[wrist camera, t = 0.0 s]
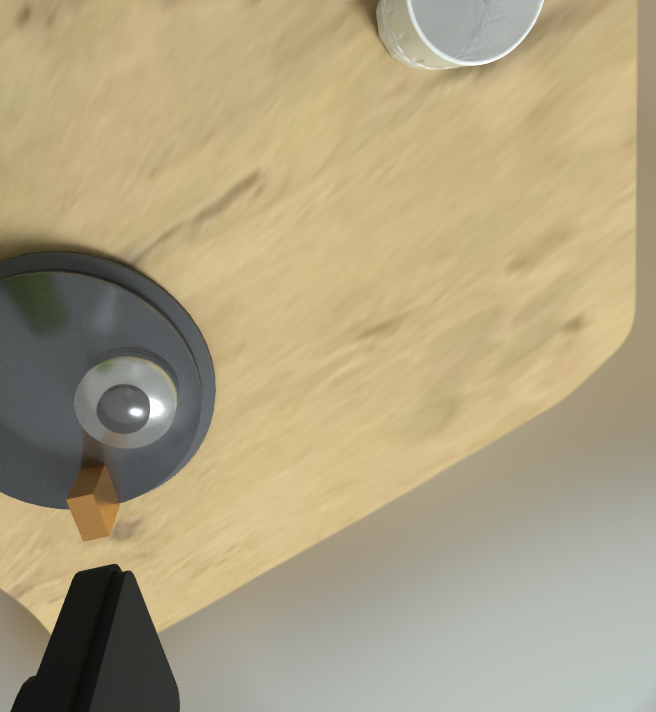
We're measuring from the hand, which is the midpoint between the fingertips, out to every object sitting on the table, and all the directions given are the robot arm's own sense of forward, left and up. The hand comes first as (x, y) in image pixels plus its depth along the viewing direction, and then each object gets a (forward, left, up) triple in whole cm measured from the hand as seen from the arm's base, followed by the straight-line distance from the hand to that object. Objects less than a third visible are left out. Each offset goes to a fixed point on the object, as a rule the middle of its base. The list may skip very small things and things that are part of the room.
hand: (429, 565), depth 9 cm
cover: (+10, -14, -34) cm, 38 cm away
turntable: (+10, -19, -35) cm, 41 cm away
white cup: (-12, +12, -37) cm, 41 cm away
